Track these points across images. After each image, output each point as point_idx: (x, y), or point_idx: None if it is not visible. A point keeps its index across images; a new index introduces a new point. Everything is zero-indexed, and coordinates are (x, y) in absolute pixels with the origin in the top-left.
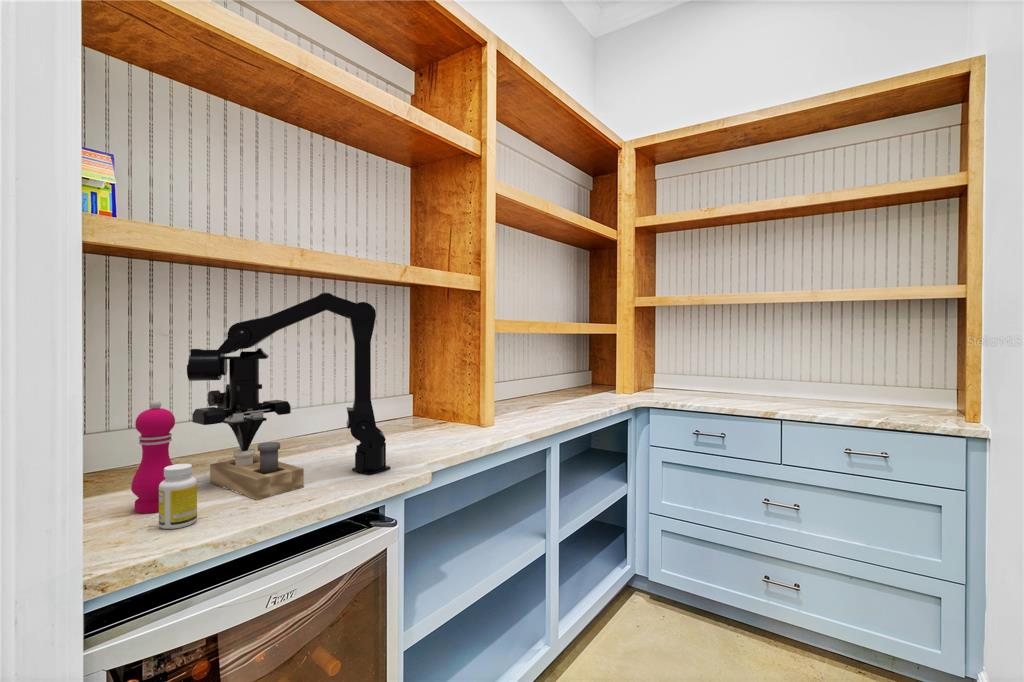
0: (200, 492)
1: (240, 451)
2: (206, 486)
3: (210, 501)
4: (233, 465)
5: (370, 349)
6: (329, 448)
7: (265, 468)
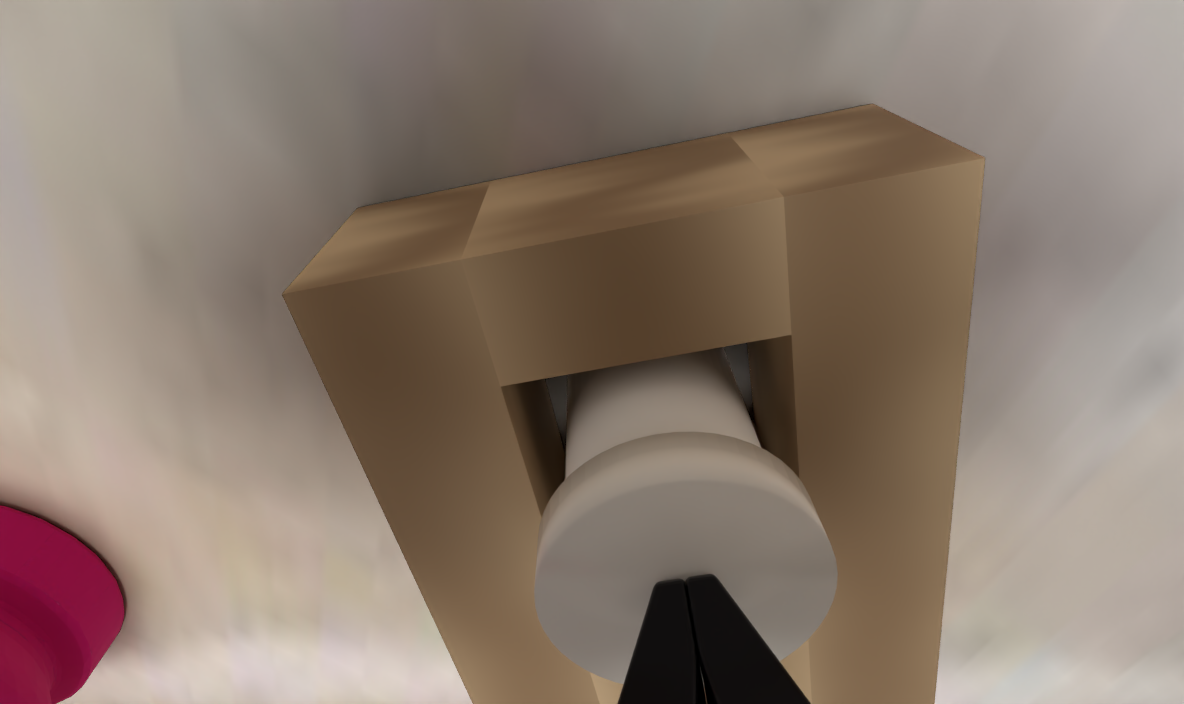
0: (271, 446)
1: (629, 604)
2: None
3: (332, 648)
4: (529, 514)
5: None
6: None
7: None
